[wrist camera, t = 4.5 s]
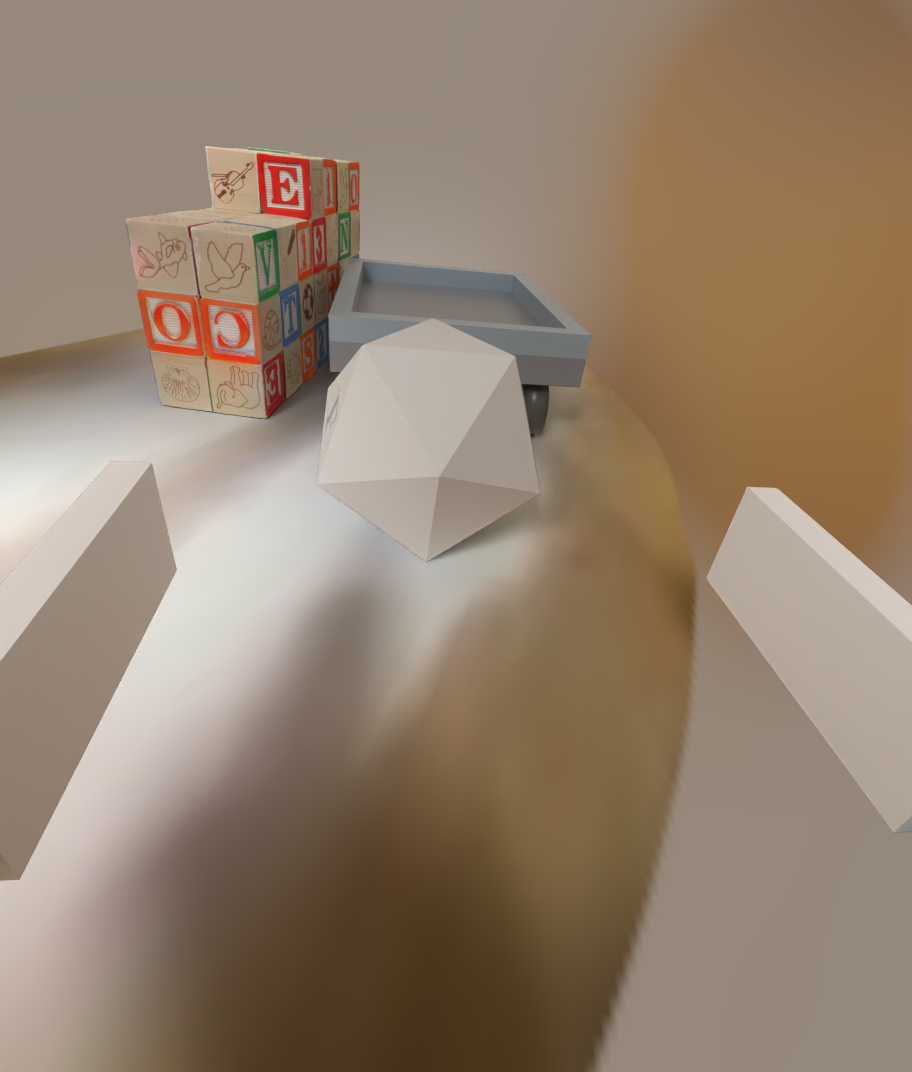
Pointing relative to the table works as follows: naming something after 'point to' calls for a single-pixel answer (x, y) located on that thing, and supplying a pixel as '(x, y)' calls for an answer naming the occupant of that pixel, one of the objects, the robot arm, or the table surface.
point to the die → (428, 437)
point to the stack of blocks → (246, 279)
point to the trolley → (462, 319)
